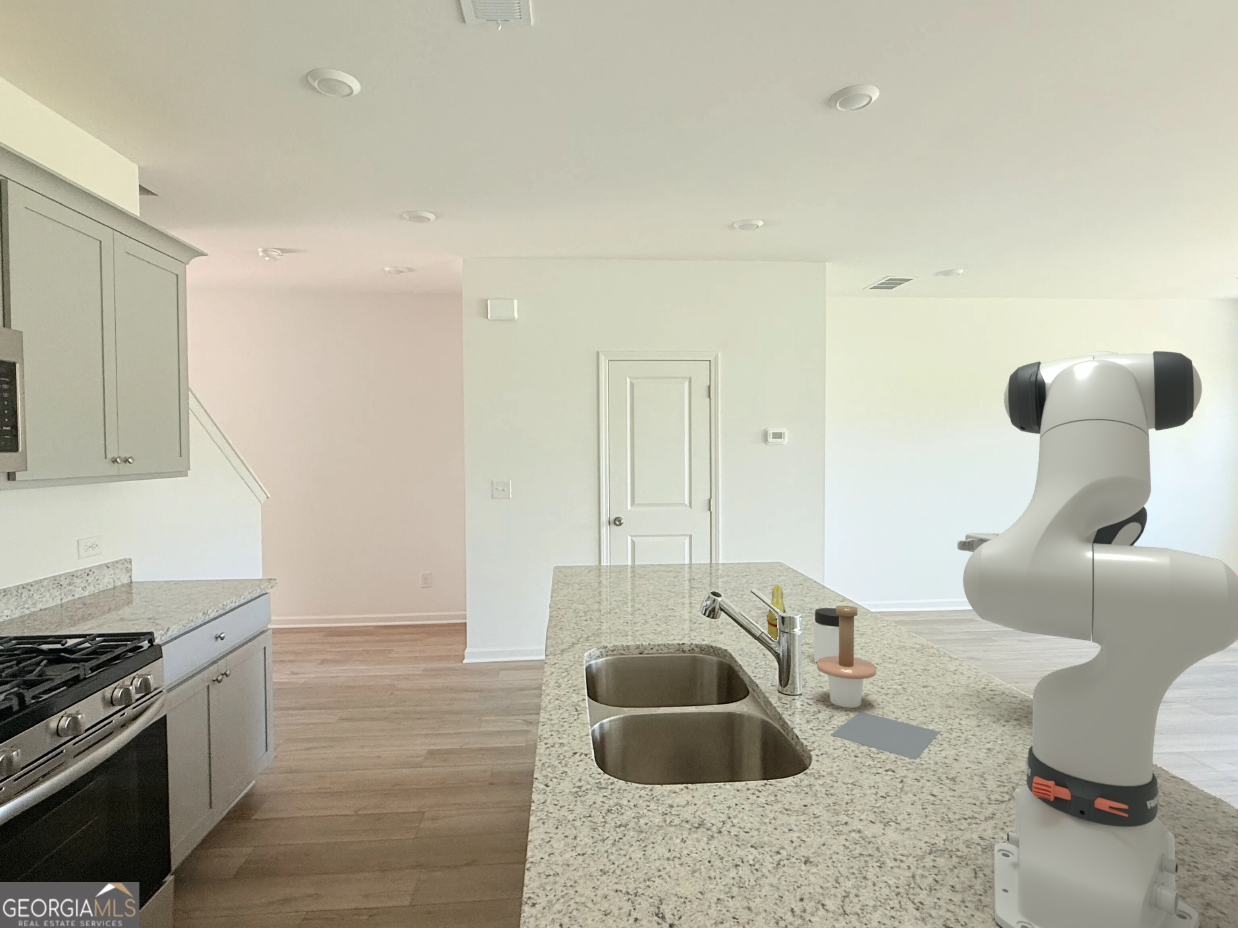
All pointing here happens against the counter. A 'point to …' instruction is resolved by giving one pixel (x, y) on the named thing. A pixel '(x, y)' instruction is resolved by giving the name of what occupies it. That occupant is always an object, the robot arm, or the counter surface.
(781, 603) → the chocolate bunny
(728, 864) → the counter surface
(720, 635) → the counter surface
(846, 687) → the shot glass
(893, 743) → the mat
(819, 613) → the jar
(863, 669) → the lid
